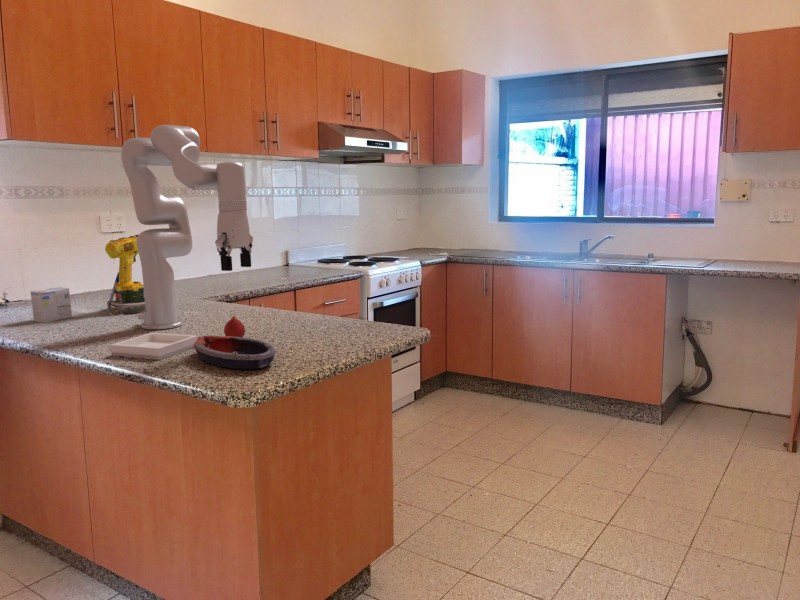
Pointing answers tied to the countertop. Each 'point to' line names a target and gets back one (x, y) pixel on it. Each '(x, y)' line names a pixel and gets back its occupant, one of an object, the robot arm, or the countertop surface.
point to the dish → (234, 351)
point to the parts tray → (154, 346)
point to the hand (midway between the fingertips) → (236, 268)
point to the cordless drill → (125, 278)
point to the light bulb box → (51, 304)
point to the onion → (234, 328)
